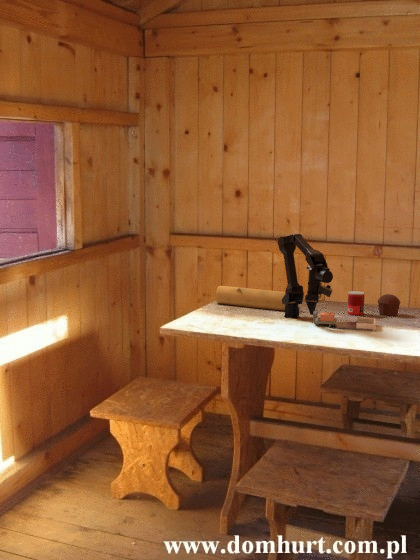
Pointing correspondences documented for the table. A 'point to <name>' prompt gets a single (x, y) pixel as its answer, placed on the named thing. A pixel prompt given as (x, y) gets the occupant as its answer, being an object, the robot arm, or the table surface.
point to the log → (250, 297)
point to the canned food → (355, 303)
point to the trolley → (324, 318)
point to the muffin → (388, 305)
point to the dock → (357, 324)
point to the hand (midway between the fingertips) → (312, 313)
